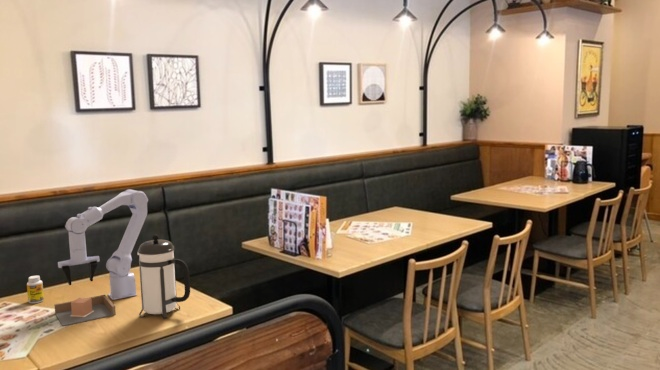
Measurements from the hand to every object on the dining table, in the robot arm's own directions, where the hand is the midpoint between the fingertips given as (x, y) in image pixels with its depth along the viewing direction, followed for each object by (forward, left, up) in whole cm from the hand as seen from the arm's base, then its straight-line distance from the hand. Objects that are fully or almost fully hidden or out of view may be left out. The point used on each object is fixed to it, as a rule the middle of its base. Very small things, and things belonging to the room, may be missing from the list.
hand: (80, 282), depth 210 cm
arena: (+1, +10, -9) cm, 14 cm away
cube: (+2, +10, -9) cm, 14 cm away
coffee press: (-23, +27, -10) cm, 37 cm away
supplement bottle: (+14, -17, -10) cm, 24 cm away
